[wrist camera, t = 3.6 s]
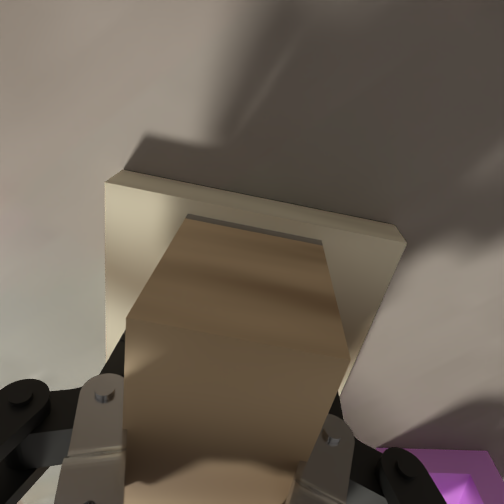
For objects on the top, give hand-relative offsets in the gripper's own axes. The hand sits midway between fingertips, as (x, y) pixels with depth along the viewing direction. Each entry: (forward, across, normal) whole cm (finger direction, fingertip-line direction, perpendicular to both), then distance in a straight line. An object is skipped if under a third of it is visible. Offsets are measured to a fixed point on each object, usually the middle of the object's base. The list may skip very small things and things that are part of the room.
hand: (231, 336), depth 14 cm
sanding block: (0, 0, 0) cm, 0 cm away
